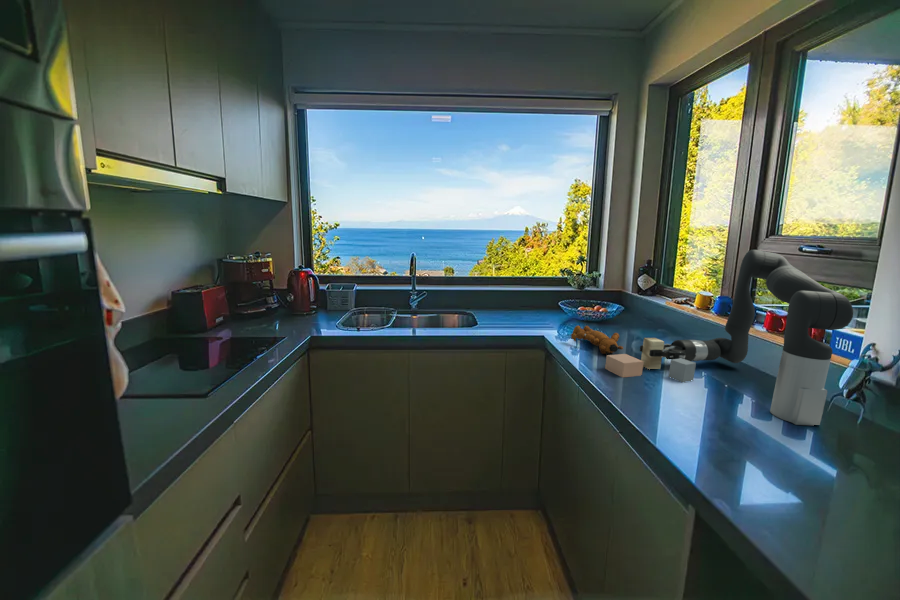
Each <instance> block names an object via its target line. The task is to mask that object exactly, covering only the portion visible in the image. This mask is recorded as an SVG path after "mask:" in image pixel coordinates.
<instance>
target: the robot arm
mask: <svg viewBox="0 0 900 600" xmlns="http://www.w3.org/2000/svg"><path fill="white" fill-rule="evenodd" d="M743 256H744V257H743V259H742V260H741V264H740V266H739V272H738V276H737V280H736V281H737V282H736V288H735V292H734V297H733V301H732V306H731V308H730V309H731V310H730V312H729V315H728V318H727V320H726V323H725V327H724V330H725V332H726V333H728V334H729V335H730V337H731V339H729V338H726V337H725V338H724V337H717V338H712V339H708V340H700V339H699V340H698V339H675V340H673V341H672V343H664V348H663V349H662V350H650V353H649V356H651V357H662V359H663V358H665V359H666V360H673V359H679V358H682V359H685V360H688V361H691V362H699V361H714V360H717V359H718V358H719V357H720V358H721V359H724V360H725V361H728V362H730V363H732V364H738V363H741V362H743V361H744V359H746V357H747V355H748V351H749V332H750V330H751V328H752V325H753V323H754V320H755V315H756V312H755V309H756V308H755V305H754V302H753V299H752V296H751V292H750V282H751V278H755V279H760V280H766V283H765V285H766V288H767V290H768V291H769V292H770V293H771V294H772V295H773V296H774V297H775V298H776V299H778V300H780V301H781V302H784V303H785V304H788V308H787V313H786V314H787V316H786V321H785V322H786V323H785V328H784V329H785V330H784V336H783V346H782V352H781V357H780V361H779V366H778V371H777V375H776V379H775V384H774V385H775V386H774V390H773V394H772V400H771V405H770V409H769V412H770V413H771V414H772V415H773V416H775V417H777V418H779V419H780V420H784V421H786V422H789V423H792V424H794V425H796V426H814V425H821V422H822V419H823V418H822V417H823V413H824V408H825V404H826V401H827V400H826V399H827V396H828V390H827V389H825V386H826V381H827V377H828V373H829V369H830V366H831V365H830V364H831V359H832V355H833V347H832V346H830V345H829V344H826V343H824V342H822V341H819V340H817V339H814V338H813V337H811V336H810V335H809V329H815V330H824V331H825V330H826V331H837V330H841V329H842V330H843V329H844V328H846V327H847V326H848V325H849V324H850V323H851V322H852V321H853V317H854V308H853V305H852V303H851V301H850V300H849V299H848V298H847V297H846V296H845V295H844V294H842V293H840V292H837V291H834V290H832V289H830V288H828V287H826V286H823V285H822V284H820V282H818V281H816V280H815V279H813V278H811V277H810V276H809V275H807V274H806V273H804V272H803V271H801V270H800V269H798V268H796V267H795V266H794V265H791V263H790V262H789V261H788V259H786V257H785V256H783V255H782V254H780V253H777V252H776V253H775V252H772V251H771V252H769V251H764V250H761V249H750V250H749V251H747V252H746V253H745V255H743ZM642 349H643V344H641V345H640V346H639V352H641V353H642Z"/></svg>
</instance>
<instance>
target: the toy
mask: <svg viewBox="0 0 900 600" xmlns="http://www.w3.org/2000/svg"><path fill="white" fill-rule="evenodd" d="M570 336H571V337H570V338H571V339H572V340H573V342H576V339H579V340H584V341H585V340H586V341H589V342H590V343H591V344H592V345H594V346H596V347H598V348H599V351H600V353H601V354H606V355H612V354H613V353H615V352H618V350H624V347H623V346H622V345H618V343H617V342H618V341H619V339H620V333H619V332H614V333H613V334H612V335H611V336H610V337H609V336H608V335H607V334H605V333H604V332H601V331H599V330H594V329H592V328H590V326H589V325H585V326H584V327H583V328H581V326H580V325H576V326H574V328H573V331H572V333H571V334H570ZM611 353H612V354H611Z"/></svg>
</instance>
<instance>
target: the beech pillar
mask: <svg viewBox="0 0 900 600" xmlns="http://www.w3.org/2000/svg"><path fill="white" fill-rule="evenodd" d="M664 344H665V341H663V339H660V338H657V337H643V343H642V345H643V349H642V352H641V356H640V357H641V358H640V360H641V361H644V363H643V368H644V367H645V368H644V369H646V368H647V369H646V370H648V369H649V370H648V371H650V369H660V370H661V367H662V361H663V358H662V357H651V356H649V353H650V350H662V349H663V348H664Z"/></svg>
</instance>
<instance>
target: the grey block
mask: <svg viewBox="0 0 900 600" xmlns="http://www.w3.org/2000/svg"><path fill="white" fill-rule="evenodd" d="M696 364H697V362H695V361H688V360H685V359H682V358H679V359H673V360H672V359H670V365H669V370H668V378H669V377H671V378H670V379H672V378H674V379H673V380H675V379H676V380H675V381H677V380H678V381H677V382H680V381H681V383H682V382H684V383H686V382H685V381H690V382H692V381H691V380H693V381H694V378H695V372H696V366H697V365H696Z"/></svg>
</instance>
